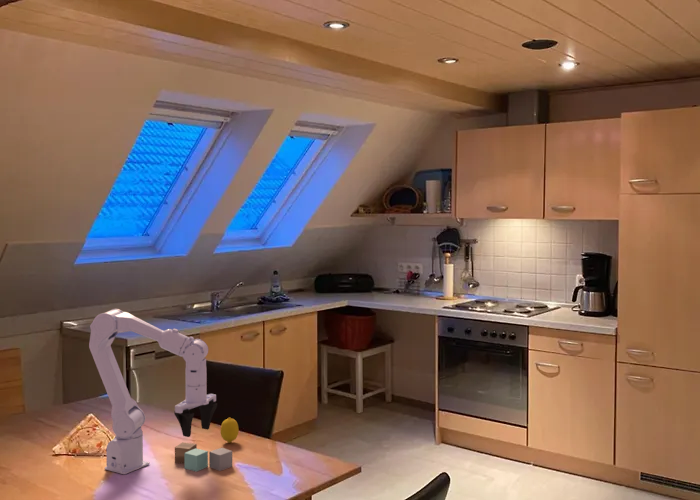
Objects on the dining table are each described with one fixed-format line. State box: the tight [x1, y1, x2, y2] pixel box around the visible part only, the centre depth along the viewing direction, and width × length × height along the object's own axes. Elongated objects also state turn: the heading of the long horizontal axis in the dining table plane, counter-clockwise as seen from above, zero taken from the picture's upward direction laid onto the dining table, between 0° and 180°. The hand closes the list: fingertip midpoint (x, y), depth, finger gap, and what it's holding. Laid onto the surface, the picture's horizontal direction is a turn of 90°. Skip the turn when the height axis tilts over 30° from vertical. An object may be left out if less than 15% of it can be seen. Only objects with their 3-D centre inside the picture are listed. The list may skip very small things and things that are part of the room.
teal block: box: [184, 448, 209, 472], centre depth 194 cm, size 4×4×4 cm
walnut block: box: [174, 441, 198, 465], centre depth 199 cm, size 4×4×4 cm
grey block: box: [208, 447, 233, 472], centre depth 195 cm, size 4×4×4 cm
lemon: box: [220, 417, 240, 444], centre depth 215 cm, size 6×6×8 cm
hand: (196, 432), depth 194 cm, fingers open, 7 cm apart
